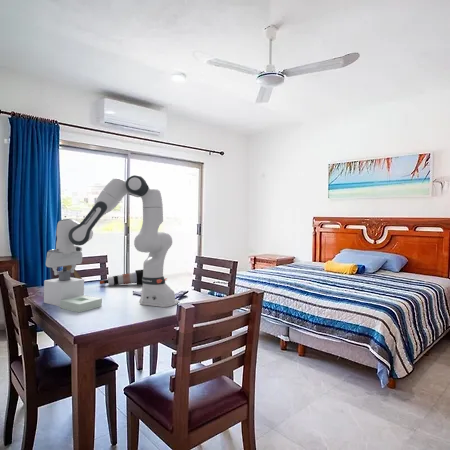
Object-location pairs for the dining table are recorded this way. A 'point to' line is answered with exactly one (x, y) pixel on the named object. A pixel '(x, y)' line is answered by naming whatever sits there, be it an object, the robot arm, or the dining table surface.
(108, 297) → the dining table surface
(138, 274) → the grey banded tapered cylinder
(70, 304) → the plate
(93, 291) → the dining table surface
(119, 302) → the dining table surface
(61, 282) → the block
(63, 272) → the plug
